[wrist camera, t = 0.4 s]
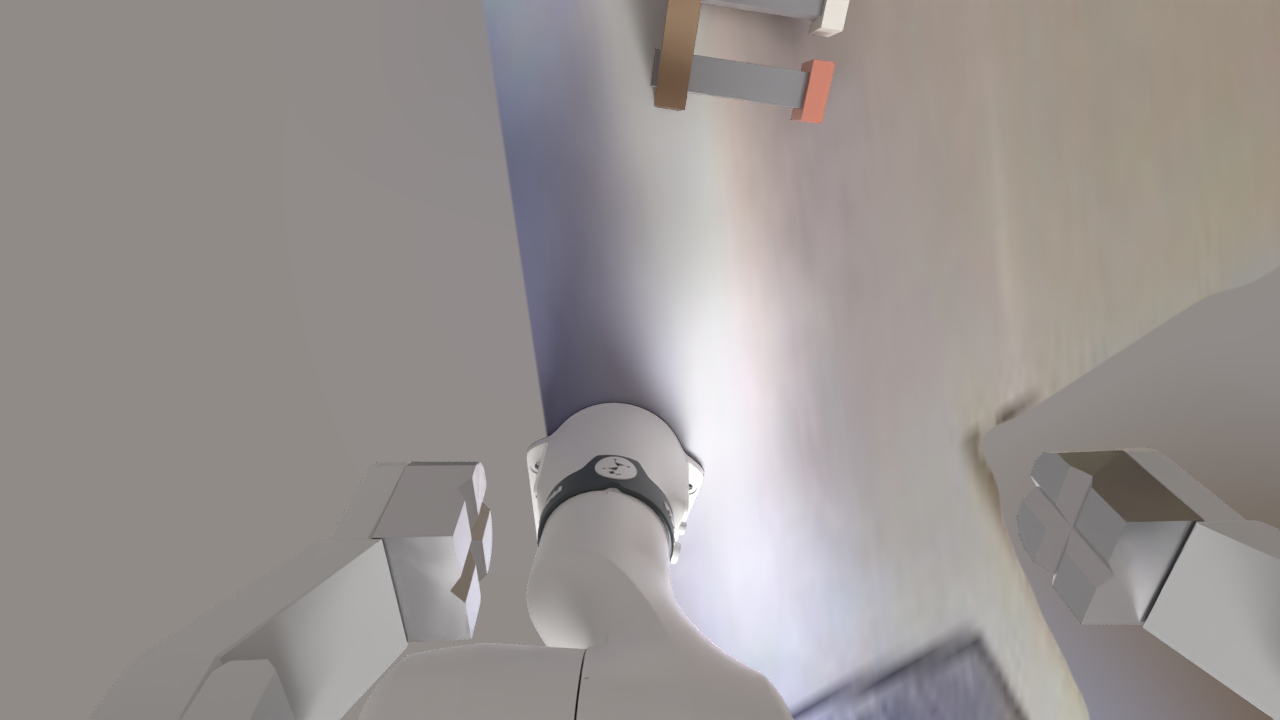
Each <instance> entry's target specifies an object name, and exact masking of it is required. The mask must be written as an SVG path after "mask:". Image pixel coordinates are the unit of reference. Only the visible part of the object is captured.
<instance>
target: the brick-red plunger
mask: <svg viewBox="0 0 1280 720" xmlns="http://www.w3.org/2000/svg"><path fill="white" fill-rule="evenodd" d="M661 51H662V50H658V49H655V56H654V64H653V71H652V79H651V87H655V88H656V87H657V80H658V72H659V65H660V58H661ZM834 67H835V62H828V61H822V60H815V59H814V60H811V61H808V62H805V63H802V68H801V71H796V70H790V69H783V68H776V67H770V66H763V65H757V64H750V63H744V62H737V61H730V60H724V59H717V58H711V57H704V56H698V55H693V59H692V66H691V72H690V79H689V85H688V93H695V94H702V95H708V96H715V97H722V98H728V99H735V100H741V101H748V102H755V103H761V104H768V105H775V106H781V107H788V108H793V111H792V116H791V120H796V121H803V122H810V123H822V120H823V116H824V111H825V107H826V102H827V98H828V94H829V89H830V85H831V80H832V76H833V71H834Z"/></svg>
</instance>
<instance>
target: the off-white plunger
mask: <svg viewBox="0 0 1280 720" xmlns="http://www.w3.org/2000/svg"><path fill="white" fill-rule="evenodd" d="M701 3H702V4H709V5H715V6H722V7H728V8H735V9H741V10H748V11H754V12H761V13H767V14H774V15H780V16H787V17H793V18H800V19H806V20H811V25H810V30H809V34H812V35H818V36H825V37H830V36H832V35H834V34H837V33H839V32H841V31H843V27H844V23H845V18H846V14H847V9H848V5H849V0H702V1H701Z"/></svg>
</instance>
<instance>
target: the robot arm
mask: <svg viewBox="0 0 1280 720" xmlns="http://www.w3.org/2000/svg"><path fill="white" fill-rule="evenodd" d="M526 458H527V466H528V474H529V481H530V489H531V497H532V504H533V511H534V520H535V527H536V534H537V542H538V550H537V553H536V557H535V561H534V564H533V568H532V571H531V575H530V578H529V582H528V586H527V605H528V610H529V614H530V617H531V620H532V622H533V624H534V626H535V628H536V630H537V631H538V633H539V635H540V636H541V638H542V640H543V641H544V643H545V644H546V645H547V647H543V646H526V645H508V644H491V643H479V644H472V645H464V646H457V647H449V648H443V649H437V650H431V651H426V652H421V653H415V654H410V655H408V656H406V657H404V658H403V659H402V660H401V661H399V662H398V663H397V664H396V665H395V666H394V667H393V668H392V669H391V670H390V671H389V672H388V673H387V674H386V675H385V676H384V677H383V679H382V680H381V681H380V682H379V684H378V685H377V686H376V688H375V689H374V690H373V692H372V693H371V695H370V697H369V698H368V700H367V702H366V704H365V706H364V708H363V709H362V712H361V714H360V717H359V719H358V720H794V719H793V717H792V715H791V713H790V711H789V709H788V707H787V704H786V703H785V701H784V700H783V698H782V696H781V695H780V693H779V692H778V691H777V689H776V688H775V687H774V685H773V684H772V683H771V682H770V681H769V679H768V678H767V677H766V676H765V675H764V674H763V673H761V672H759V671H757V670H755V669H753V668H751V667H749V666H747V665H746V664H744V663H742V662H740V661H738V660H737V659H735V658H733V657H732V656H730V655H729V654H727V653H726V652H724V651H723V650H722V649H720V648H719V647H718V646H716V645H715V644H714V643H713V642H711V641H710V640H709V639H708V638H707V637H706V636H705V635H704V634H702V632H701V631H700V630H699V629H698V628H697V627H696V626H695V625H694V624H693V623H692V622H691V621H690V619H689V618H688V617H687V616H686V615H685V613H684V612H683V610H682V609H681V608H680V606H679V604H678V603H677V601H676V598H675V596H674V592H673V586H672V579H671V571H670V564H676V562H677V560H678V557H679V553H680V547H681V545H680V543H679V542H677V540H678V538H679V535H684V533H685V530H686V520H687V517H688V515H689V513H690V510H691V508H692V506H693V504H694V501H695V499H696V497H697V495H698V492H699V490H700V488H701V486H702V483H703V480H704V471H703V469H702V468H701V466H700V465H699V464H698V463H697V462H695V461H694V460H693V459H692V458H690V457H689V456H688V455H687V454H686V453H685V452H684V450H683V449H682V447H681V445H680V443H679V441H678V439H677V437H676V436H675V434H674V432H673V431H672V430H671V429H670V427H669V426H668V425H667V424H666V423H665V422H664V421H663V420H661V419H660V418H659V417H657V416H656V415H654V414H653V413H651V412H649V411H647V410H645V409H643V408H640V407H637V406H634V405H630V404H623V403H604V404H598V405H594V406H591V407H588V408H585V409H583V410H581V411H579V412H577V413H575V414H574V415H572V416H571V417H570V418H568V419H567V420H566V421H565V422H564V423H563V424H562V425H561V426H560V427H559V428H558V429H557V430H556V431H555V432H554V433H553V434H552V435H550V436H548V437H545V438H543V439H540V440H538V441H536V442H534V443H533V444H531V445H530V446H529V448H528V450H527V455H526ZM536 463H540V465H539V466H537V465H536ZM1030 475H1031V477H1032V479H1033V481H1034V483H1035V485H1036V487H1035V488H1034V489H1033V490H1032V491H1031V492H1030V493H1028V494H1027V495H1026V496H1025V497H1024V498H1023V499H1022V501H1021V504H1020V508H1019V511H1018V515H1017V524H1018V534H1019V537H1020V540H1021V542H1022V545H1023V547H1024V549H1025V551H1026V552H1027V553H1028V555H1029V556H1030V558H1031V559H1032V560H1033V562H1034V563H1036V564H1038V565H1039V566H1041V567H1042V568H1044V569H1046V570H1047V571H1049V572H1051V573H1053V574H1054V575H1053V583H1052V587H1053V588H1054V590H1055V591H1056V592H1057V594H1058V595H1059V596H1060V597H1061V599H1062V600H1063V601H1064V603H1065V604H1066V605H1067V607H1068V608H1069V609H1070V610H1071V612H1072V613H1073V614H1074V616H1075V617H1076V618H1077V620H1078V621H1079V622H1080V624H1144V626H1143V628H1144V629H1146V630H1147V631H1149V632H1150V633H1152V634H1153V635H1154V636H1156V637H1157V638H1159V639H1160V640H1162V641H1163V642H1164V643H1166V644H1167V645H1169V646H1170V647H1172V648H1173V649H1174V650H1176V651H1177V652H1179V653H1180V654H1182V655H1183V656H1184V657H1186V658H1188V659H1189V660H1190V661H1192V662H1193V663H1195V664H1196V665H1197V666H1199V667H1200V668H1202V669H1203V670H1205V671H1206V672H1207V673H1209V674H1210V675H1212V676H1213V677H1215V678H1216V679H1217V680H1219V681H1220V682H1222V683H1223V684H1225V685H1226V686H1228V687H1229V688H1230V689H1232V690H1233V691H1235V692H1236V693H1237V694H1239V695H1240V696H1242V697H1243V698H1245V699H1246V700H1247V701H1249V702H1250V703H1252V704H1253V705H1255V706H1256V707H1257V708H1259V709H1260V710H1262V711H1263V712H1265V713H1266V714H1267V715H1269V716H1270V717H1272V718H1273V719H1275V720H1280V530H1279V529H1277V528H1275V527H1272V526H1270V525H1267V524H1265V523H1262V522H1260V521H1246V520H1245V519H1244V518H1243V517H1241V516H1240V515H1239V514H1238V513H1236V512H1235V511H1234V510H1233V509H1231V508H1230V507H1229V506H1227V505H1226V504H1225V503H1224V502H1223V501H1221V500H1220V499H1219V498H1218V497H1216V496H1215V495H1214V494H1213V493H1211V492H1210V491H1209V490H1208V489H1206V488H1205V487H1204V486H1203V485H1201V484H1200V483H1199V482H1198V481H1196V480H1195V479H1194V478H1193V477H1191V476H1190V475H1189V474H1188V473H1186V472H1185V471H1184V470H1183V469H1181V468H1180V467H1179V466H1178V465H1176V464H1175V463H1174V462H1173V461H1171V460H1170V459H1169V458H1168V457H1166V456H1165V455H1164V454H1163V453H1161V452H1159V451H1156V450H1153V449H1150V448H1129V449H1113V450H1108V451H1070V452H1069V451H1068V452H1043V453H1042V454H1041V455H1040V456H1039V457H1038V458H1037V460H1036V461H1035V463H1034V466H1033V469H1032V471H1031V474H1030ZM689 483H690V484H692V486H690V487H689ZM486 486H487V484H486V479H485V473H484V467H483V466H482V464H481V463H480V462H411V463H410V462H376V463H375V464H373V465H371V466H370V467H369V468H368V470H367V472H366V473H365V475H364V477H363V479H362V480H361V482H360V484H359V486H358V487H357V489H356V491H355V493H354V495H353V496H352V498H351V500H350V502H349V503H348V505H347V507H346V509H345V511H344V512H343V514H342V516H341V518H340V520H339V521H338V523H337V525H336V527H335V528H334V530H333V532H332V534H331V536H330V537H329V539H328V540H317V541H315V542H314V543H312V544H311V545H309V546H308V547H306V548H304V549H303V550H301V551H300V552H298V553H297V554H295V555H294V556H292V557H290V558H289V559H287V560H286V561H284V562H283V563H281V564H280V565H278V566H277V567H275V568H274V569H272V570H270V571H269V572H267V573H266V574H264V575H263V576H261V577H260V578H258V579H256V580H255V581H253V582H252V583H250V584H249V585H247V586H245V587H244V588H242V589H241V590H239V591H238V592H236V593H235V594H233V595H231V596H230V597H229V598H227V599H225V600H224V601H222V602H221V603H219V604H218V605H216V606H214V607H213V608H211V609H210V610H208V611H207V612H205V613H204V614H202V615H200V616H199V617H198V618H196V619H194V620H193V621H191V622H190V623H188V624H187V625H185V626H184V627H182V628H180V629H179V630H177V631H176V632H174V633H173V634H171V635H169V636H168V637H166V638H165V639H163V640H162V641H160V642H159V643H157V644H155V645H154V646H152V647H151V648H149V649H148V650H146V651H145V652H143V653H142V654H140V655H138V656H137V657H135V658H134V659H132V661H131V662H130V663H129V665H128V666H127V667H126V668H125V670H124V671H123V672H122V674H121V675H120V676H119V678H118V679H117V680H116V682H115V683H114V684H113V685H112V687H111V688H110V689H109V691H108V692H107V693H106V695H105V696H104V697H103V699H102V700H101V701H100V702H99V704H98V705H97V706H96V708H95V709H94V710H93V712H92V713H91V714H90V716H89V717H88V718H87V720H340V719H341V717H342V716H343V715H344V714H345V713H346V712H347V711H348V710H349V709H350V708H351V707H352V706H353V705H354V704H355V702H356V701H357V700H358V699H359V698H360V697H361V696H362V695H363V694H364V693H365V691H367V690H368V688H369V687H370V686H371V685H372V684H373V683H374V682H375V681H376V680H377V679H378V678H379V676H381V674H382V673H383V672H384V671H385V670H386V669H387V668H388V667H389V666H390V665H391V664H392V663H393V662H394V660H395V659H396V658H397V657H398V656H399V655H400V654H401V653H402V652H403V651H404V650H405V649H406V648H407V646H408V644H407V642H423V641H443V640H462V639H471V638H472V634H473V631H474V627H475V623H476V619H477V614H478V610H479V606H480V602H481V595H480V588H479V581H481V580H482V579H483V578H484V577H485V576H486V575H487V573H488V568H489V564H490V559H491V548H492V521H491V513H490V509H489V508H488V507H487V506H485V504H484V503H483V502H482V501H483V497H484V493H485V490H486Z"/></svg>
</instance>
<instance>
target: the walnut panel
mask: <svg viewBox="0 0 1280 720" xmlns="http://www.w3.org/2000/svg"><path fill="white" fill-rule="evenodd" d="M701 1H702V0H668V7H667V14H666V22H665V29H664V36H663V43H662V51H661V58H660V65H659V72H658V80H657V87H656V94H655V101H654V106H655V107H659V108H666V109H672V110H685V105H686V98H687V92H688V85H689V79H690V72H691V66H692V59H693V53H694V46H695V40H696V33H697V27H698V20H699V14H700V7H701Z"/></svg>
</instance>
